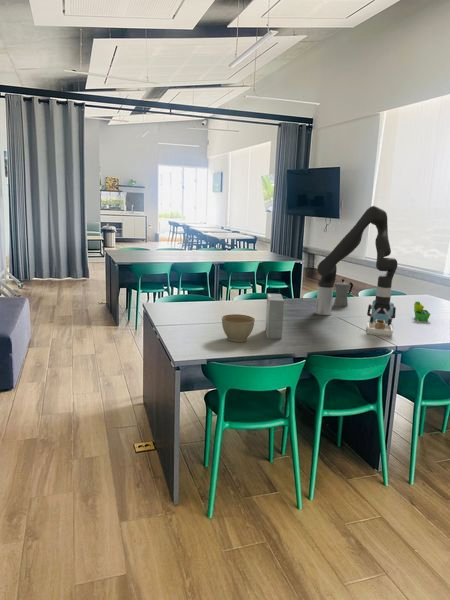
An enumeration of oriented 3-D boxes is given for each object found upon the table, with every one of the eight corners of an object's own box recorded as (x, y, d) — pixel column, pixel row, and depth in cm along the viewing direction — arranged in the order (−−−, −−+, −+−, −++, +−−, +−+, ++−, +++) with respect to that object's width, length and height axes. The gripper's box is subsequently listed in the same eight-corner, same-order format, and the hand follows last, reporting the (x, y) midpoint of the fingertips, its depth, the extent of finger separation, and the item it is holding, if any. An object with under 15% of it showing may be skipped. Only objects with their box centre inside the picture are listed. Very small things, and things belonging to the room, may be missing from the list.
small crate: (375, 331, 244) (376, 322, 243) (374, 328, 252) (375, 319, 251) (384, 332, 243) (385, 323, 242) (383, 329, 251) (384, 320, 250)
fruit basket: (429, 322, 272) (432, 304, 269) (414, 321, 274) (416, 302, 271) (425, 317, 283) (428, 300, 280) (410, 316, 284) (412, 299, 282)
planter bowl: (229, 346, 215) (229, 323, 212) (216, 336, 229) (216, 315, 227) (259, 342, 221) (260, 321, 219) (244, 333, 235) (245, 313, 233)
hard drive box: (265, 329, 244) (267, 293, 240) (279, 330, 244) (281, 293, 239) (266, 338, 229) (269, 299, 224) (282, 339, 228) (284, 300, 224)
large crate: (367, 333, 243) (367, 328, 242) (366, 327, 256) (367, 322, 255) (392, 336, 240) (392, 331, 239) (390, 329, 252) (391, 324, 252)
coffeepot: (337, 307, 302) (339, 280, 298) (328, 304, 310) (330, 278, 307) (355, 306, 309) (358, 279, 305) (346, 303, 317) (348, 277, 313)
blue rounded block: (392, 323, 267) (394, 303, 265) (387, 324, 265) (389, 303, 262) (375, 318, 277) (377, 299, 275) (370, 319, 275) (372, 299, 272)
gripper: (396, 295, 245) (393, 324, 248) (369, 292, 249) (366, 321, 252) (398, 297, 238) (394, 327, 241) (369, 295, 242) (366, 324, 245)
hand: (380, 324), depth 247 cm, fingers open, 8 cm apart
